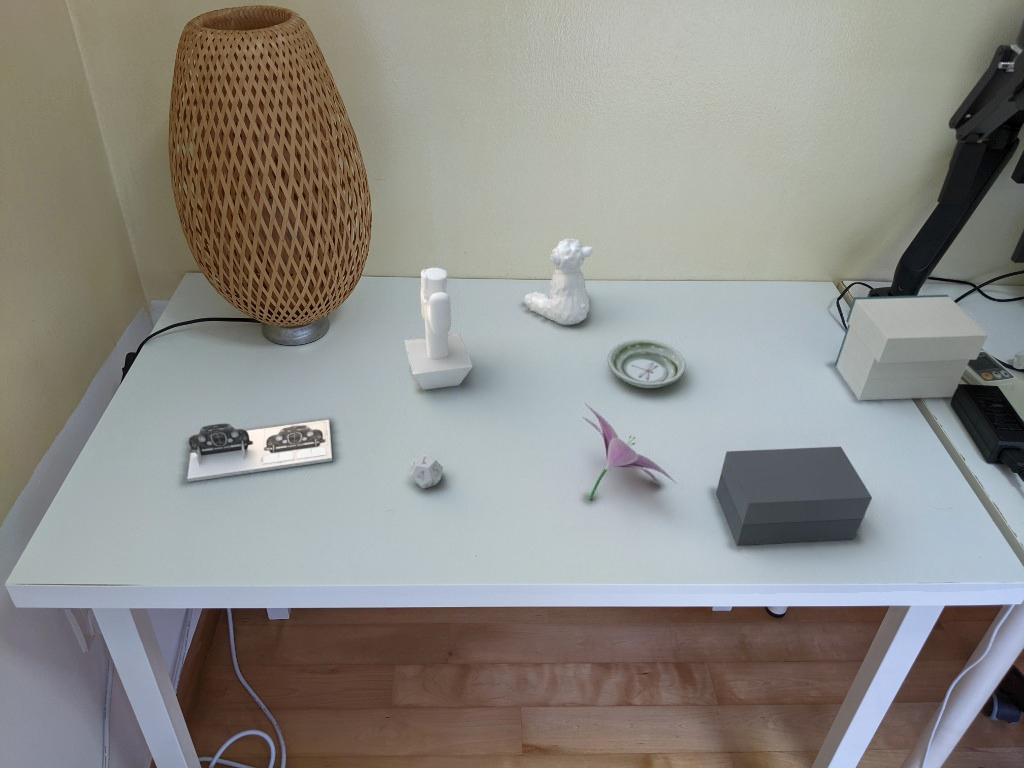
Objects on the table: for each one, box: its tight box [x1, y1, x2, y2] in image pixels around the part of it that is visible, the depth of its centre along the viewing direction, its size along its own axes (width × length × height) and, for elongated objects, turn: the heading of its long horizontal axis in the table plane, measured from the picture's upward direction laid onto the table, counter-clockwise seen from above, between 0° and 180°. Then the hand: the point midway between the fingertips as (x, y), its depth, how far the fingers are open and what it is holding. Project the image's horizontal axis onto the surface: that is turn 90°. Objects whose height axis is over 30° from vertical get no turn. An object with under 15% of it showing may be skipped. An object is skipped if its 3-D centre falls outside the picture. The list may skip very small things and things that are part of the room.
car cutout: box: [186, 419, 333, 483], centre depth 84 cm, size 15×7×4 cm, turn 103°
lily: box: [581, 402, 678, 501], centre depth 80 cm, size 12×12×10 cm
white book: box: [846, 294, 989, 363], centre depth 93 cm, size 12×9×4 cm
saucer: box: [606, 338, 687, 389], centre depth 97 cm, size 10×10×2 cm
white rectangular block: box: [834, 323, 970, 401], centre depth 96 cm, size 12×7×6 cm, turn 94°
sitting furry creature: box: [524, 237, 594, 326], centre depth 105 cm, size 10×9×12 cm
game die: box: [407, 453, 444, 489], centre depth 82 cm, size 4×4×3 cm
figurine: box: [403, 267, 474, 391], centre depth 92 cm, size 7×9×15 cm
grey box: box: [715, 446, 873, 546], centre depth 77 cm, size 12×7×6 cm, turn 94°
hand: (985, 230), depth 80 cm, fingers open, 13 cm apart
